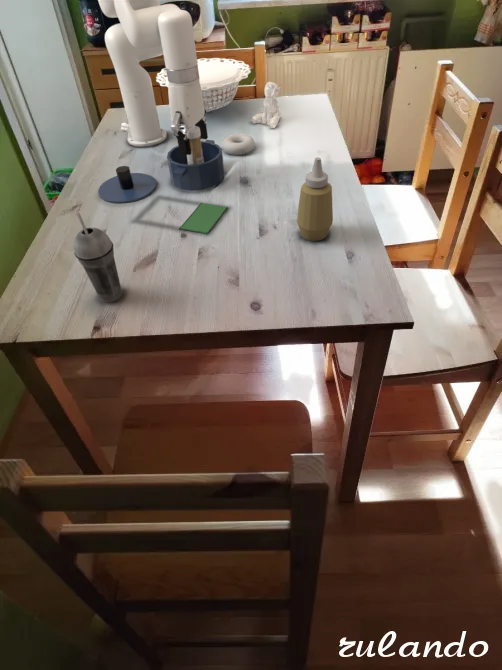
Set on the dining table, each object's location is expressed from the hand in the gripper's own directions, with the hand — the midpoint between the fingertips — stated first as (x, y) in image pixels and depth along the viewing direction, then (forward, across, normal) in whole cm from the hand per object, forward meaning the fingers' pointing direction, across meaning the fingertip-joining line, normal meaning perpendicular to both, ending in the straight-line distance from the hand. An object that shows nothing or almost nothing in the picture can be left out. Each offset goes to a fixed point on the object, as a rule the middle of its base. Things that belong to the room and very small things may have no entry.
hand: (194, 146), depth 121 cm
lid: (+9, +11, -16) cm, 21 cm away
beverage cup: (+10, +50, +4) cm, 51 cm away
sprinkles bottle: (+9, 0, 0) cm, 9 cm away
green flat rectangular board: (+10, +18, +4) cm, 20 cm away
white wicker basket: (+9, -45, -18) cm, 50 cm away
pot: (+9, 0, 0) cm, 9 cm away
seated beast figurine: (+9, -42, +6) cm, 44 cm away
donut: (+9, -20, +4) cm, 23 cm away
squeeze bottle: (+10, +17, +38) cm, 42 cm away
